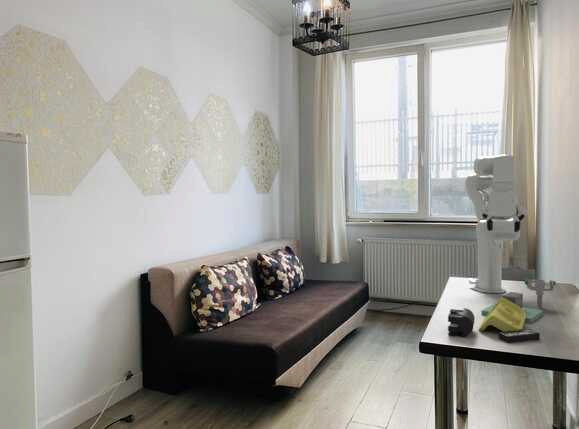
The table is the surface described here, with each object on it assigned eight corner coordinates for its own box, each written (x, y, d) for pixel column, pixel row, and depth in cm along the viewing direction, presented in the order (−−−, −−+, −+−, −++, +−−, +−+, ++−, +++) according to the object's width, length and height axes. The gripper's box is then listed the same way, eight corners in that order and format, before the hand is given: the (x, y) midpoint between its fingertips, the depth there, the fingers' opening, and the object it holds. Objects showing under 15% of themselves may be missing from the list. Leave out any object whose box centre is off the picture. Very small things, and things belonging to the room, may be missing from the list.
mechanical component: (556, 307, 163) (556, 281, 163) (526, 306, 165) (526, 280, 165) (552, 305, 166) (553, 279, 166) (523, 304, 168) (523, 279, 168)
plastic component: (521, 331, 129) (488, 312, 134) (509, 350, 132) (477, 331, 136) (527, 310, 146) (498, 295, 150) (516, 328, 148) (487, 312, 153)
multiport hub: (498, 339, 130) (498, 332, 130) (528, 336, 132) (528, 328, 132) (508, 344, 126) (508, 336, 125) (540, 340, 128) (540, 333, 128)
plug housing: (502, 311, 153) (502, 295, 153) (510, 306, 159) (510, 291, 159) (515, 313, 151) (515, 297, 150) (522, 308, 156) (522, 293, 156)
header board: (481, 314, 155) (481, 300, 155) (495, 307, 165) (495, 293, 165) (530, 323, 144) (531, 308, 144) (542, 314, 154) (542, 300, 154)
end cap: (473, 339, 130) (473, 316, 129) (447, 336, 133) (447, 314, 132) (474, 329, 139) (474, 308, 138) (450, 327, 142) (450, 306, 141)
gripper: (477, 187, 173) (476, 230, 173) (524, 186, 161) (524, 233, 161) (484, 187, 178) (483, 229, 179) (531, 186, 166) (530, 231, 167)
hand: (503, 231), depth 170 cm, fingers open, 9 cm apart
